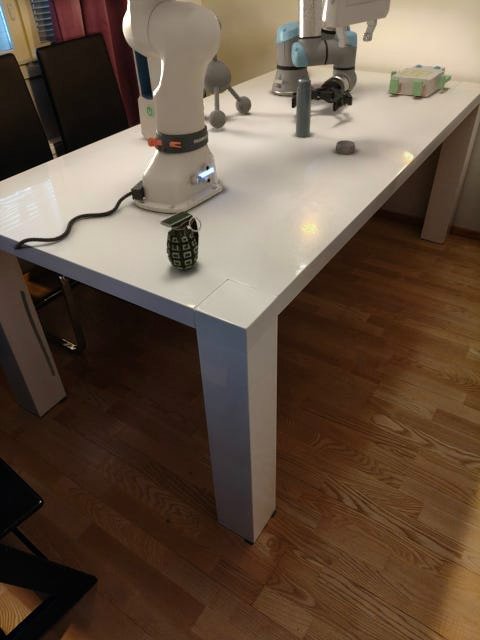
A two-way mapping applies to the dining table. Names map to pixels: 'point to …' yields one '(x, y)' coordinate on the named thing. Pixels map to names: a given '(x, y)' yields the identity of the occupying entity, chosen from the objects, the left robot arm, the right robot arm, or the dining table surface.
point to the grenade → (182, 240)
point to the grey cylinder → (303, 108)
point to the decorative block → (418, 80)
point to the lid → (345, 147)
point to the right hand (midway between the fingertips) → (312, 105)
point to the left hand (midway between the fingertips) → (355, 44)
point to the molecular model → (221, 90)
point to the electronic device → (147, 91)
